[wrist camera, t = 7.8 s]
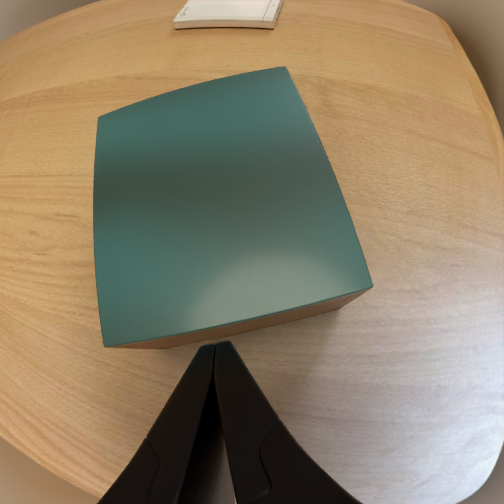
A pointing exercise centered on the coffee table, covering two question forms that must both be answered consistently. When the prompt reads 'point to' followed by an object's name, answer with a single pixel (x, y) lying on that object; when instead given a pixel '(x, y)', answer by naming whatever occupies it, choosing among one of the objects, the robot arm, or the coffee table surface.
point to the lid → (217, 211)
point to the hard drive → (228, 13)
